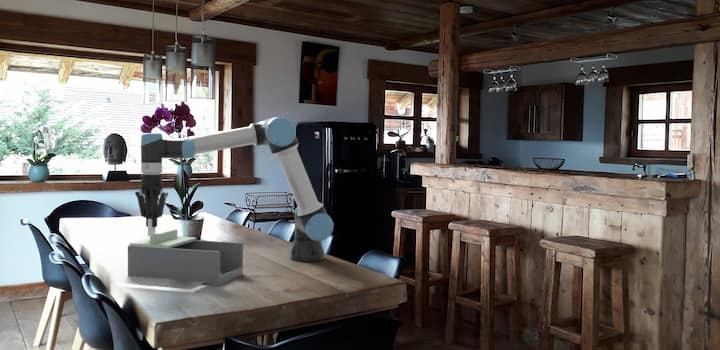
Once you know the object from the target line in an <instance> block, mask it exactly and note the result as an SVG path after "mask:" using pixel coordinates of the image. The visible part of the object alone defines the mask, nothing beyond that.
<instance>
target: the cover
mask: <svg viewBox="0 0 720 350" xmlns="http://www.w3.org/2000/svg"><path fill="white" fill-rule="evenodd" d="M195 240H197V237H194V236H193V237H191V236H184V237H178V229H170V230H166V231H162V232H159V233H155V234H154V235H150V236H149V238H145V239H141V240H137V241H133V242H129V245H130V246H139V247H154V248H168V249H169V248H172V247H175V246H179V245H182V244H185V243H189V242H192V241H195Z"/></svg>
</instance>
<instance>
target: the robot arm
mask: <svg viewBox="0 0 720 350" xmlns="http://www.w3.org/2000/svg"><path fill="white" fill-rule="evenodd" d="M296 134H297V131H296V126H295V125H294V123H293V122H292V121H291V120H290V119H289V118H287V117H284V116H275V117H270V118H267V119H265V120H262V121H259V122H254V123H250V124H249V126H245V127H239V128H234V129H227V130H226V129H225V130H221V131H216V132H209V133H203V134H199V135H192V136H186V137H180V138H163V135H162V133H161V132H160V133H159V132H157V133H155V132H145V133H143V134H142V135H141V138H140V139H141V141H140V172H141V175H140V183H141V187H140V189H139V190H138V191H135V192H134V194H135V196H136V198H137V202H138V206H139V213H140V216H141V217H142V218H145V226H146V227H147V236H148V237H150V235H154V234H156V228H157V227H158V219H159V218H162V217H163V213H164V208H165V205H166V204H165V203H166V200H167V197H168V195H169V192H166V191H164V190H163V186H162V184H163V175H162V173H163V159H184V160H186V159H194V157H195V155H199V154H205V153H211V152H217V151H221V150H227V149H229V150H230V149H233V148H239V147H245V146H251V145H253V146H254V147H259V146H268V147H269V150H270V152H271V154H272V155H273V156H276V157H277V159H278V162H279V164H280V167H281V169H282V172H283V174H284V177H285V178H286V181H287V183H288V186H289V188H290V191H291V194H292V196H293V198H294V201H295V202H296V206H297V207H296V208H295V209H294V241H293V245H292V248H291V251H290V254H289V255H290V260H292V261H298V262H319V261H323V260H325V256H326V254H325V251H324V247H323V243H322V241H324V240H325V241H326V240H327V239H328V238H329V237H330V236H331V235H332V233H333V231H334V221H333V219H332V218H331V216H330V215H329V214H328V213H327V210H326V208H325V206H324V204H323V203H321V202H319V201H318V198H317V195H316V192H315V191H314V189H313V186H312V183H311V180H310V178H309V175H308V173H307V171H306V169H305V166H304V164H303V161H302V158H301V156H300V154H299V151H298V146H299V144H300V143H299V140H298V138H297V136H296Z"/></svg>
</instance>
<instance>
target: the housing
mask: <svg viewBox="0 0 720 350" xmlns="http://www.w3.org/2000/svg"><path fill="white" fill-rule="evenodd" d="M221 271H225V273H222V272H221ZM243 271H244V243H243V242H231V241H214V240H199V239H196V240H195V241H192V242H189V243H185V244H182V245H179V246H175V247H172V248H169V249H168V248H154V247H139V246H130V244H129V245H127V276H129V277H130V276H131V277H132V276H133V277H142V278H143V277H144V278H153V279H154V278H156V279H166V280H167V279H168V280H178V281H179V280H180V281H193V282H194V281H195V282H203V283H201V285H204V286H205V285H206V286H213V287H215V286H216V287H219V286H221V285H224V284H226V283H228V282H230V281H232V280H234V279H236V278H238V277H240V276H242V275H243V274H244V272H243Z"/></svg>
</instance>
